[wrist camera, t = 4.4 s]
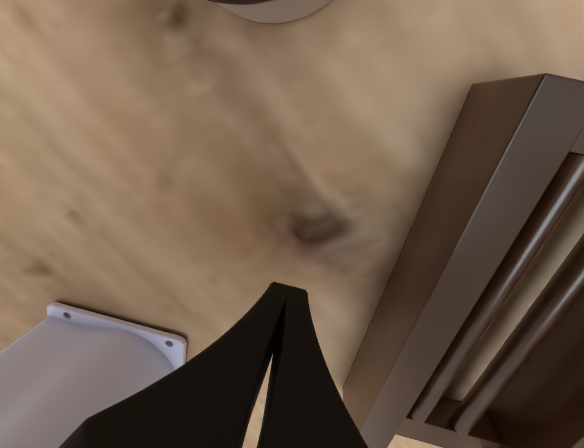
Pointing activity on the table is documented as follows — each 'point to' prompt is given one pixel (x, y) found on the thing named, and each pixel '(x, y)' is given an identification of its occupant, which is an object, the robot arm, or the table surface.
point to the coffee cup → (272, 9)
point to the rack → (485, 284)
